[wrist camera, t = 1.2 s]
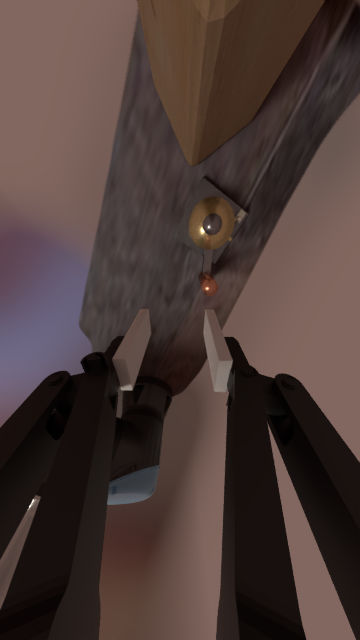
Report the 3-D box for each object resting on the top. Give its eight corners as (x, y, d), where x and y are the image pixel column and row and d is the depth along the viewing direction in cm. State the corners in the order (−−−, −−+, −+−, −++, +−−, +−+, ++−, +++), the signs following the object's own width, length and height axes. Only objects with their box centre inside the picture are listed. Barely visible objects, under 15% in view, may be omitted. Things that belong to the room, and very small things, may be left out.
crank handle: (222, 283, 31) (231, 296, 25) (186, 282, 31) (187, 295, 25) (234, 199, 24) (251, 188, 18) (189, 198, 24) (191, 187, 18)
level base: (213, 262, 30) (216, 265, 28) (173, 235, 28) (172, 236, 26) (246, 214, 26) (251, 213, 24) (202, 178, 24) (203, 173, 22)
